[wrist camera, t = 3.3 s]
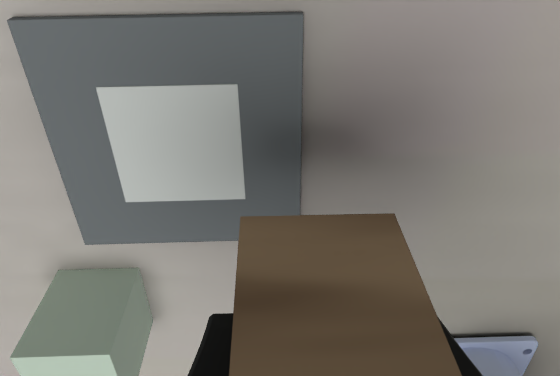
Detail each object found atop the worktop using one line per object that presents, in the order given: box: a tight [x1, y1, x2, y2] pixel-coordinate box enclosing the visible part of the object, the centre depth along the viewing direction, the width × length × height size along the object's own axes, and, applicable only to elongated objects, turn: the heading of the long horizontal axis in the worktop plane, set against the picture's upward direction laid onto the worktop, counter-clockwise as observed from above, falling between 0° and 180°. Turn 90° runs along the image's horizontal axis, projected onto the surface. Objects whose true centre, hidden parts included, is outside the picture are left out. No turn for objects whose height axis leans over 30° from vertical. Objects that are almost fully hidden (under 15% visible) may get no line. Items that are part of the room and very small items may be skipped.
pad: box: [7, 12, 303, 245], centre depth 18 cm, size 10×10×1 cm
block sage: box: [10, 268, 153, 376], centre depth 21 cm, size 4×4×5 cm
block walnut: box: [229, 214, 462, 376], centre depth 10 cm, size 4×4×5 cm
